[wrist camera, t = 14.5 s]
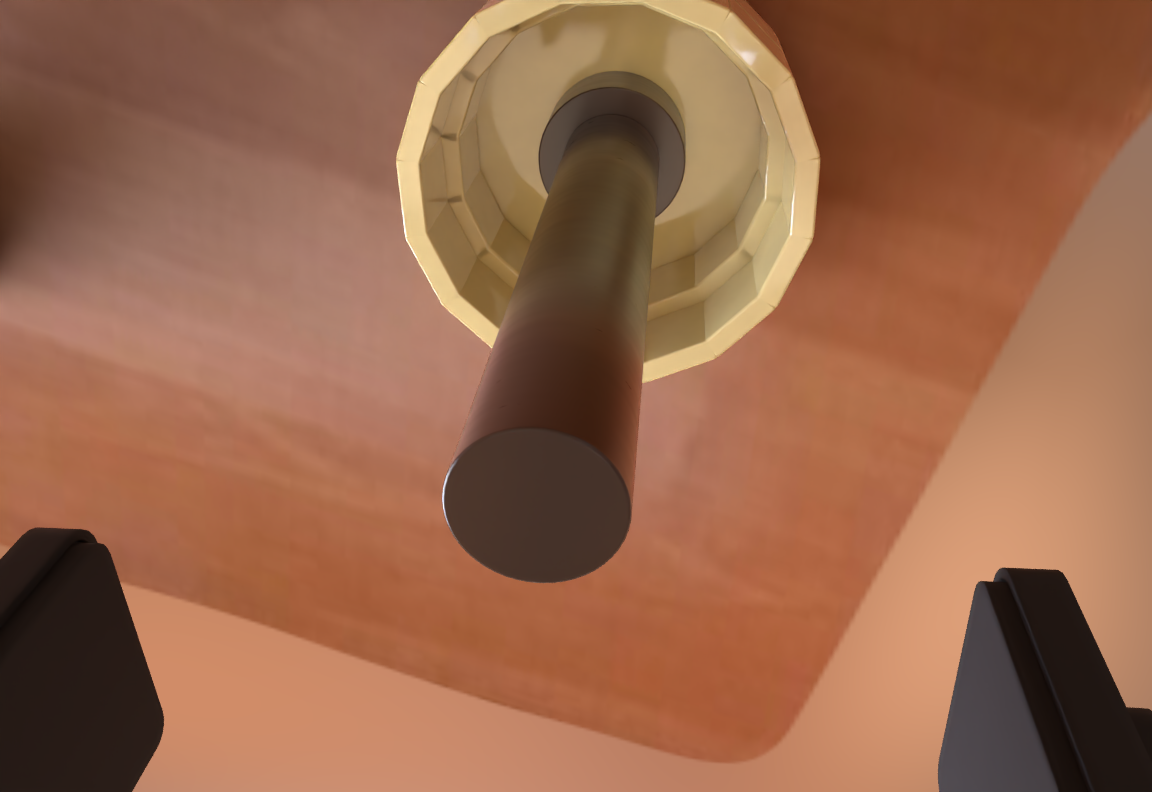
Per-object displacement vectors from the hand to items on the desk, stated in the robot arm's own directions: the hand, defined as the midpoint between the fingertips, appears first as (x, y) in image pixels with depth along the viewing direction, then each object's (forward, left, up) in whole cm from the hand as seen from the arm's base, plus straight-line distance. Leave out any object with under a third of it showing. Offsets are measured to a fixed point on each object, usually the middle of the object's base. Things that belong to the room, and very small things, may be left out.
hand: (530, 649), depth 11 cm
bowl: (0, 0, -22) cm, 22 cm away
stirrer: (0, 0, -21) cm, 21 cm away
